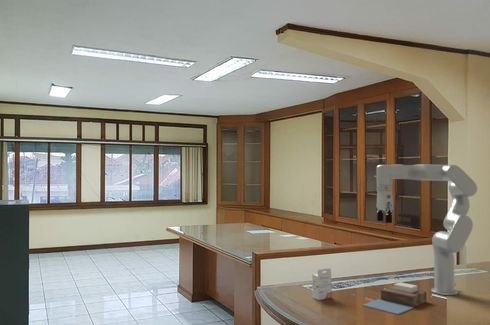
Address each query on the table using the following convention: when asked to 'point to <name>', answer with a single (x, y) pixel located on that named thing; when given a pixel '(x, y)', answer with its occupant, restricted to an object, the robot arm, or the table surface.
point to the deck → (403, 297)
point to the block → (405, 287)
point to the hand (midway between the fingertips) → (384, 221)
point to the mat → (388, 306)
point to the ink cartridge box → (322, 284)
